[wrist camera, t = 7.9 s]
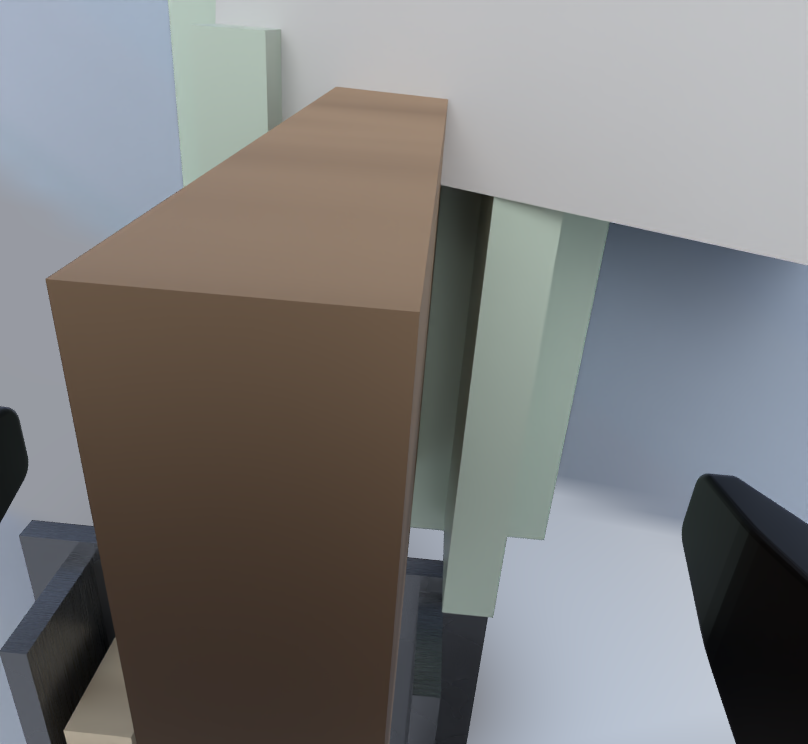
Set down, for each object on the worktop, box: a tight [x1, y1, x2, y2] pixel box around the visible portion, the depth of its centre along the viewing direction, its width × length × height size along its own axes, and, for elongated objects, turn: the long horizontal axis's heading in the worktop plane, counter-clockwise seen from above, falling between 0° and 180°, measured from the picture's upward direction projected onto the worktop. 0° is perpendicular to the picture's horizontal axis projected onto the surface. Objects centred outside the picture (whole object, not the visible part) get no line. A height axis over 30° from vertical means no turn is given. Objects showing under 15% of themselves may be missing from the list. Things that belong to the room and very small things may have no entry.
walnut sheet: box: [46, 87, 448, 744], centre depth 9 cm, size 8×2×10 cm, turn 176°
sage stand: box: [168, 0, 610, 618], centre depth 13 cm, size 11×8×4 cm
